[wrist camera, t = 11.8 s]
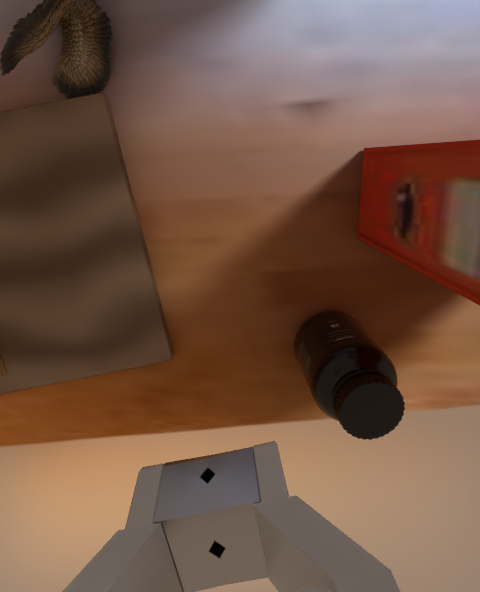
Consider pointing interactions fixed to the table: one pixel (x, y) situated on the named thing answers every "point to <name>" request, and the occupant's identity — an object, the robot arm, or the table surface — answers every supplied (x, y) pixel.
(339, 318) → the supplement bottle
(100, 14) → the eagle figurine
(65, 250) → the walnut base plate
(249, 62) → the table surface
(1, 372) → the brass link
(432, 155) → the file binder
